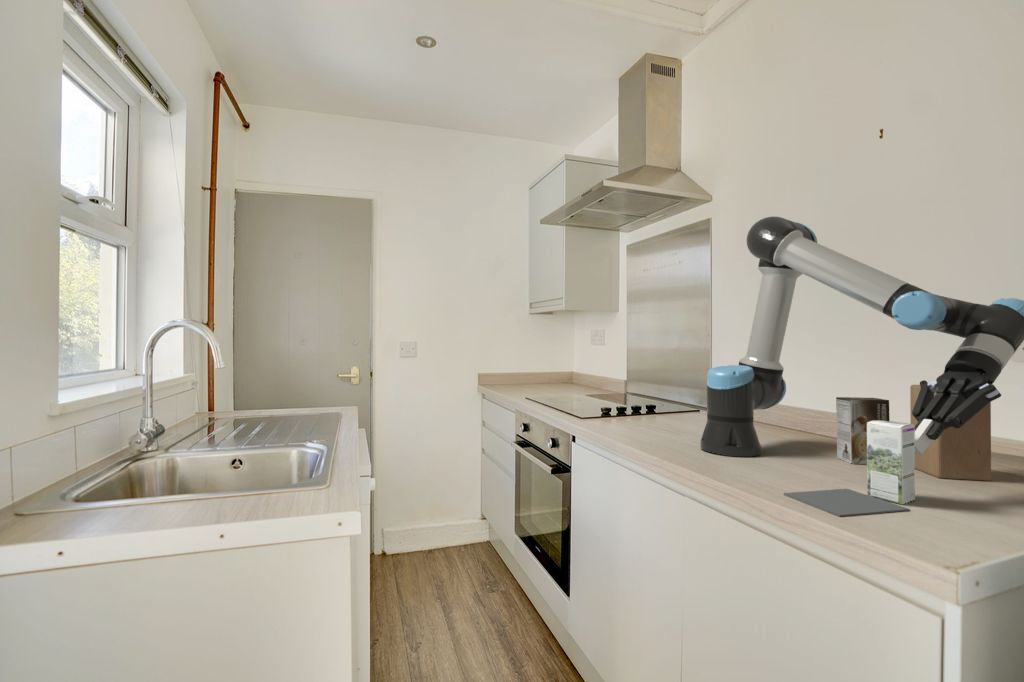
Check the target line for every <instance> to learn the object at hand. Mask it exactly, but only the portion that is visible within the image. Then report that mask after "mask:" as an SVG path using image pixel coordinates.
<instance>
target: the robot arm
mask: <svg viewBox="0 0 1024 682" xmlns="http://www.w3.org/2000/svg"><path fill="white" fill-rule="evenodd" d="M746 246H747V249H748V252H750V253H751V255H752V256H754V257H756V258H757V259H759V261H758V267H757V270H759V271H760V273H761V279H760V280H761V282H760V285H759V291H758V295H757V301H756V306H755V312H754V315H753V321H752V325H751V331H750V336H749V340H748V346H747V351H746V354H745V356H744V357H742V358H740V359H739V361H738V365H737V364H735V365H733V364H729V365H721V366H715V367H712V368H710V369H709V370H708V371H707V379H706V397H707V398H706V401H707V403H706V404H707V405H706V407H707V408H706V411H707V413H706V414H707V416H706V417H707V419H706V424H705V427H704V429H703V432H702V437H701V438H700V444H699V446H700V447H701V448H702V449H703V450H702V449H701V448H700V449H701V450H702V451H704V450H705V451H704V452H706V451H708V452H707V453H710V452H712V453H711V454H714V453H716V454H715V455H720V454H721V455H720V456H729V457H742V458H743V457H746V458H747V457H756V456H760V455H761V453H762V446H761V442H760V439H759V436H758V434H757V431H756V428H755V424H754V411H757V410H766V409H767V410H768V409H770V408H772V407H775V406H777V405H778V404H779V403H781V402H782V401H783V399H784V398H785V395H786V392H787V384H786V381H785V379H784V378H783V373H784V366H783V365H782V364H781V362H780V360H781V359H780V358H781V354H782V349H783V345H784V340H785V336H786V335H785V334H786V330H787V326H788V320H789V316H790V312H791V307H792V301H793V297H794V293H795V289H796V283H797V279H798V277H800V276H802V275H805V276H807V277H808V278H811V279H812V280H815V281H817V282H819V283H821V284H822V285H824V286H825V285H826V286H827V287H829V288H831V289H833V290H834V291H837V292H839V293H840V294H843V295H845V296H847V297H850V298H851V299H854V300H856V301H857V302H860V303H862V304H864V305H866V306H868V307H870V308H872V309H874V310H876V311H878V312H879V313H882V314H883V315H885V316H888V317H890V318H891V319H893V320H895V322H897V323H898V324H899V325H900V326H902V327H905V328H907V329H909V330H915V331H922V330H923V331H935V332H940V333H943V334H947V335H952V336H954V337H955V336H956V337H960V338H962V339H964V340H963V342H962V343H960V345H959V346H958V348H956V350H955V352H954V353H953V355H952V356H951V357H950V358H949V360H948V361H947V362H946V364H945V365H944V371H943V373H942V374H941V375H939V376H937V378H936V380H933V381H927V380H925V379H924V380H920V382H919V385H920V387H921V390H920V392H919V395H918V398H917V400H916V403H915V405H914V408H913V411H912V415H913V416H914V417H915V418H916V420H917V421H918V423H917V424H916V425H915V453H917V454H923V453H924V451H925V450H926V448H927V447H928V446H929V444H930V443H931V441H932V440H936V439H938V437H939V436H940V434H941V433H942V432H943V431H944V429H947V428H948V427H954V428H960V427H961V426H962V425H964V424H965V423H966V422H967V421H968V420H969V419H971V418H972V417H973V416H974V415H975V414H976V413H978V412H979V411H980V410H981V409H982V408H983V407H985V406H986V405H987V404H988V403H989V402H993V401H995V400H997V399H999V398H1001V397H1002V394H1001V392H1000V391H999V390H998V389H997V387H996V386H995V384H994V383H995V381H996V380H997V378H998V377H999V375H1000V374H1001V373H1002V370H1003V369H1004V368H1005V367H1006V365H1007V364H1008V363H1009V361H1010V360H1011V358H1012V357H1013V355H1014V354H1015V353H1016V352H1017V351H1018V349H1019V347H1020V346H1021V345H1022V343H1023V342H1024V300H1023V299H1019V298H1014V297H1009V298H999V299H996V300H994V301H992V302H991V303H990V304H989V305H988V304H981V303H974V302H970V301H965V300H961V299H956V298H953V297H947V296H942V295H939V294H934V293H932V292H930V291H927V290H925V289H923V288H921V287H918V286H916V285H913V284H910V283H909V282H906V281H904V280H903V279H900V278H898V277H895V276H893V275H890V274H888V273H886V272H883V271H882V270H879V269H877V268H874V267H873V266H870V265H868V264H866V263H864V262H861V261H859V260H856V259H854V258H852V257H849V256H847V255H844V254H843V253H840V252H838V251H836V250H834V249H831V248H829V247H827V246H824V245H822V244H820V243H818V238H817V235H816V234H815V232H814V231H813V230H812V229H811V228H809V227H808V226H806V225H805V224H804V223H800V222H796V221H792V220H790V219H786V218H785V217H781V216H768V217H764V218H761V219H760V220H758V221H755V223H754V224H753V225H752V226H751V227H750V229H749V230H748V232H747V235H746ZM937 387H938V389H937ZM936 389H937V390H936ZM934 393H936V395H935V396H934ZM957 418H958V419H957Z"/></svg>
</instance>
